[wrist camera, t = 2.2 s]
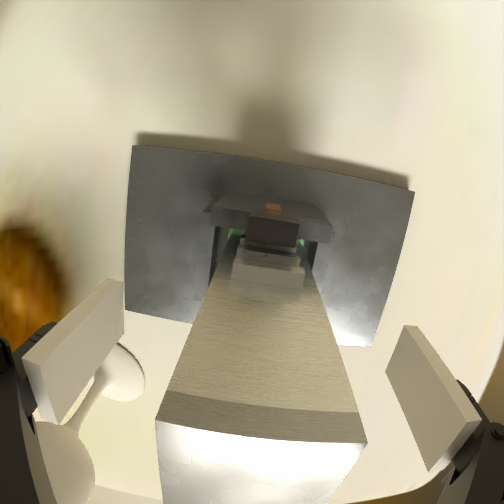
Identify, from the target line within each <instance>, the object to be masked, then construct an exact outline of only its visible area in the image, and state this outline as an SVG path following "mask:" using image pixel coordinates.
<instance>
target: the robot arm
mask: <svg viewBox="0 0 504 504" xmlns="http://www.w3.org/2000/svg"><path fill="white" fill-rule="evenodd" d="M123 334H124V318H123V282H121V281H116V280H112V279H107V280H106V281H105V282H104V283H103V284H101V285H100V286H99V287H98V288H97V289H96V290H95V291H93V292H92V293H91V294H90V295H89V296H88V297H87V298H85V299H84V300H83V301H82V302H81V303H80V304H79V305H77V306H76V307H75V308H74V309H73V310H72V311H71V312H70V313H69V314H67V315H66V316H65V317H64V318H63V319H62V320H61V321H60V322H59V323H55V322H50V323H48V324H46V325H44V326H42V327H41V328H39V329H38V330H37V331H36V332H35V333H34V334H33V335H32V336H30V337H29V338H28V340H26V341H25V342H24V343H23V344H22V345H21V346H20V347H18V348H17V349H16V350H15V351H14V352H13V353H11V349H10V346H9V342H8V341H7V340H6V339H5V338H4V337H1V336H0V504H57V502H56V499H55V496H54V493H53V490H52V487H51V484H50V481H49V477H48V474H47V470H46V467H45V463H44V459H43V456H42V452H41V447H40V443H39V439H38V434H37V430H36V425H35V420H34V417H33V414H32V413H33V412H34V410H35V409H36V408H38V410H39V413H40V415H41V418H43V419H45V420H47V421H49V422H52V423H54V424H56V425H59V424H60V422H61V421H62V419H63V418H64V416H65V415H66V414H67V412H68V411H69V409H70V408H71V406H72V405H73V403H74V402H75V400H76V399H77V398H78V396H79V395H80V393H81V392H82V390H83V389H84V388H85V386H86V385H87V383H88V382H89V380H90V379H91V378H92V376H93V375H94V373H95V372H96V371H97V369H98V368H99V366H100V365H101V364H102V362H103V361H104V360H105V358H106V357H107V355H108V354H109V353H110V351H111V350H112V349H113V347H114V346H115V345H116V343H117V342H118V340H119V339H120V338H121V336H122V335H123ZM385 372H386V374H387V376H388V379H389V381H390V383H391V385H392V387H393V389H394V392H395V394H396V396H397V398H398V401H399V403H400V405H401V408H402V410H403V412H404V414H405V417H406V419H407V421H408V424H409V426H410V429H411V431H412V433H413V436H414V438H415V441H416V443H417V445H418V448H419V450H420V453H421V455H422V458H423V460H424V463H425V466H426V468H427V471H428V472H433V471H439V470H444V469H445V467H446V466H447V465H448V464H449V463H450V462H451V460H453V462H454V465H455V466H454V468H453V469H452V470H451V471H450V472H449V473H448V474H447V475H446V477H445V478H444V479H443V480H442V481H441V482H440V483H441V484H443V483H444V482H445V481H446V480H447V481H446V484H445V486H444V488H443V491H442V493H441V495H440V498H439V500H438V502H437V504H504V426H503V425H501V424H500V423H496V422H492V423H490V422H489V420H488V419H487V417H486V416H485V414H484V412H483V411H482V409H481V408H480V406H479V405H478V403H477V402H476V400H475V399H474V397H473V396H471V395H472V394H471V393H470V392H469V390H468V389H467V387H466V386H465V385H464V384H462V383H461V382H460V381H459V380H456V379H455V378H454V376H453V375H452V373H451V372H450V371H449V369H448V368H447V366H446V365H445V363H444V362H443V361H442V359H441V358H440V356H439V355H438V354H437V352H436V351H435V350H434V348H433V347H432V345H431V344H430V343H429V341H428V340H427V339H426V337H425V336H424V335H423V333H422V332H421V331H420V329H419V328H418V327H417V326H409V325H404V327H403V330H402V332H401V335H400V337H399V340H398V342H397V345H396V347H395V350H394V352H393V354H392V357H391V359H390V362H389V364H388V366H387V368H386V371H385Z"/></svg>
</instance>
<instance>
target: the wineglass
mask: <svg viewBox="0 0 504 504" xmlns="http://www.w3.org/2000/svg"><path fill="white" fill-rule="evenodd" d="M87 385H88V386H89V387H91V388H90V390H89V392H88V393H87V395H86V397H85V399H84V400H83V402H82V403H81V405H80V407H79V408H78V410H77V411H76V412H75V414H74V415H73V416H72V418H71V419H70V420H69V421H68V422H67V423H66V424H64V425H56V424H54V423H50V422H42V421H40V422H35V425H36V430H37V434H38V439H39V443H40V447H41V452H42V456H43V459H44V463H45V467H46V470H47V474H48V477H49V481H50V484H51V487H52V490H53V493H54V496H55V499H56V502H57V504H88V503H89V500H90V498H91V495H92V492H93V488H94V483H95V472H94V467H93V463H92V460H91V457H90V455H89V453H88V451H87V449H86V447H85V446H84V444H83V443H82V442H81V440H80V439H79V437H78V432H79V429H80V426H81V424H82V422H83V420H84V418H85V416H86V414H87V412H88V411H89V409H90V408H91V406H92V404H93V403H94V402H95V400H96V399H97V397H98V396H99V395H102V396H104V397H107V398H109V399H112V400H117V401H130V400H133V399H136V398H137V397H139V396H140V395H141V394H142V392H143V390H144V387H145V379H144V375H143V372H142V370H141V368H140V366H139V364H138V363H137V361H136V360H135V359H134V358H133V357H132V356H131V355H130V354H129V353H128V352H127V351H126V350H125V349H123V348H122V347H120V346H119V345H117V344H116V345H115V346H114V347H113V349H112V350H111V351H110V353H109V354H108V355H107V357H106V358H105V360H104V361H103V362H102V364H101V365H100V366H99V368H98V369H97V371H96V372H95V373H94V375H93V376H92V378H91V379H90V380H89V382H88V383H87Z"/></svg>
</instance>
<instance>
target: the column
mask: <svg viewBox="0 0 504 504" xmlns="http://www.w3.org/2000/svg"><path fill="white" fill-rule="evenodd" d="M246 233H247V231H246V230H239V229H233V228H230V229H229V237H228V242H227V245H226V247H225V249H224V252H223V254H222V256H221V259H220V261H219V263H218V266H217V268H216V270H215V273H214V275H213V277H212V280H211V282H210V285H209V287H208V289H207V292H206V294H205V296H204V299H203V301H202V304H201V306H200V308H199V311H198V313H197V316H196V318H195V321H194V323H193V325H192V328H191V330H190V333H189V335H188V338H187V340H186V343H185V345H184V348H183V350H182V352H181V355H180V357H179V360H178V362H177V365H176V367H175V370H174V372H173V375H172V377H171V380H170V383H169V385H168V388H167V390H166V393H165V395H164V398H163V400H162V403H161V405H160V408H159V411H158V413H157V416H156V418H155V428H156V440H157V452H158V462H159V471H160V480H161V488H162V495H163V503H164V504H326V503H327V501H328V500H329V499H330V497H331V496H332V495H333V493H334V492H335V491H336V489H337V488H338V487H339V485H340V484H341V482H342V481H343V480H344V478H345V477H346V475H347V474H348V472H349V471H350V469H351V468H352V466H353V465H354V463H355V462H356V460H357V459H358V457H359V456H360V454H361V452H362V451H363V449H364V448H365V446H366V444H367V443H368V442H367V439H366V435H365V432H364V428H363V425H362V422H361V418H360V415H359V412H358V408H357V405H356V402H355V398H354V395H353V392H352V389H351V386H350V382H349V379H348V376H347V373H346V370H345V367H344V364H343V361H342V357H341V354H340V351H339V348H338V345H337V342H336V339H335V336H334V333H333V330H332V327H331V325H330V322H329V319H328V316H327V313H326V310H325V307H324V304H323V301H322V299H321V296H320V293H319V290H318V287H317V285H316V282H315V279H314V276H313V273H312V271H311V268H310V265H309V262H308V260H307V257H306V254H305V252H304V249H303V244H304V240H302V239H297V241H296V246H295V248H291V247H285V246H278V245H272V244H266V243H260V242H253V241H247V240H246Z"/></svg>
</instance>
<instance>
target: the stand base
mask: <svg viewBox="0 0 504 504" xmlns="http://www.w3.org/2000/svg"><path fill="white" fill-rule="evenodd" d="M414 194H415V192H414V191H410V190H407V189H403V188H399V187H395V186H391V185H387V184H383V183H379V182H375V181H370V180H366V179H362V178H357V177H353V176H348V175H343V174H339V173H334V172H329V171H324V170H319V169H314V168H308V167H303V166H297V165H292V164H286V163H280V162H274V161H268V160H262V159H255V158H248V157H242V156H234V155H227V154H219V153H211V152H203V151H194V150H184V149H174V148H164V147H152V146H138V145H133V146H132V155H131V164H130V174H129V186H128V199H127V215H126V236H125V310H128V311H133V312H137V313H142V314H146V315H151V316H156V317H161V318H166V319H171V320H176V321H181V322H186V323H191V324H193V323H194V321H195V318H196V316H197V313H198V311H199V308H200V306H201V304H202V301H203V299H204V296H205V294H206V292H207V289H208V287H209V285H210V282H211V280H212V277H213V275H214V273H215V270H216V268H217V266H218V263H219V261H220V259H221V256H222V254H223V252H224V249H225V247H226V245H227V242H228V237H229V229H230V228H233V229H239V230H246V231H247V233H246V240H247V241H253V242H260V243H266V244H272V245H278V246H285V247H291V248H295V246H296V241H297V239H302V240H304V244H303V249H304V252H305V254H306V257H307V260H308V262H309V265H310V268H311V271H312V273H313V276H314V279H315V282H316V285H317V287H318V290H319V293H320V296H321V299H322V301H323V304H324V307H325V310H326V313H327V316H328V319H329V322H330V325H331V327H332V330H333V333H334V336H335V339H336V342H337V344H340V345H351V346H362V347H370V346H371V343H372V340H373V338H374V335H375V332H376V329H377V327H378V324H379V321H380V318H381V315H382V312H383V309H384V306H385V303H386V300H387V297H388V294H389V291H390V287H391V284H392V281H393V278H394V274H395V271H396V267H397V264H398V260H399V257H400V253H401V249H402V246H403V242H404V238H405V234H406V230H407V226H408V221H409V217H410V213H411V208H412V204H413V199H414Z"/></svg>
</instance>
